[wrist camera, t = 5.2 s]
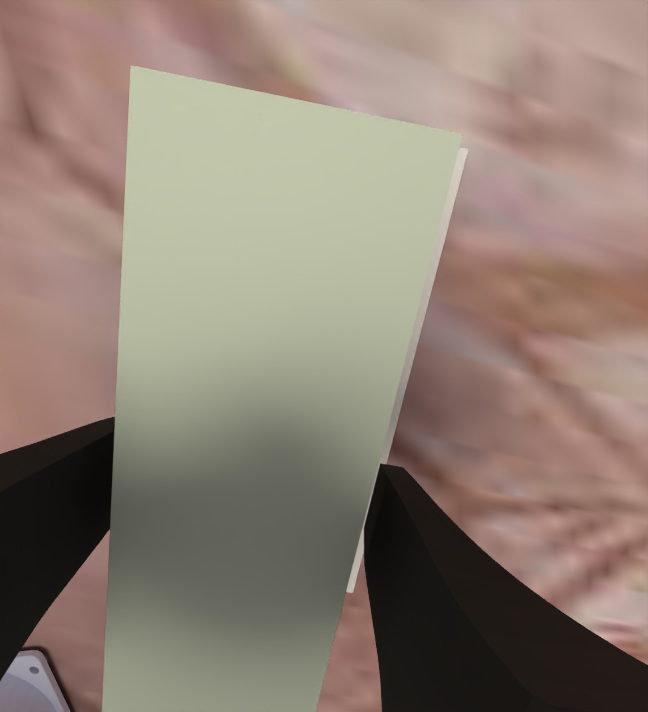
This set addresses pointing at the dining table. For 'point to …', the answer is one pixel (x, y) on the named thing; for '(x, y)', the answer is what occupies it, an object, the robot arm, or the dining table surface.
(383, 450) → the off-white flat rectangular panel
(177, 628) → the sage lintel
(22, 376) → the dining table surface
